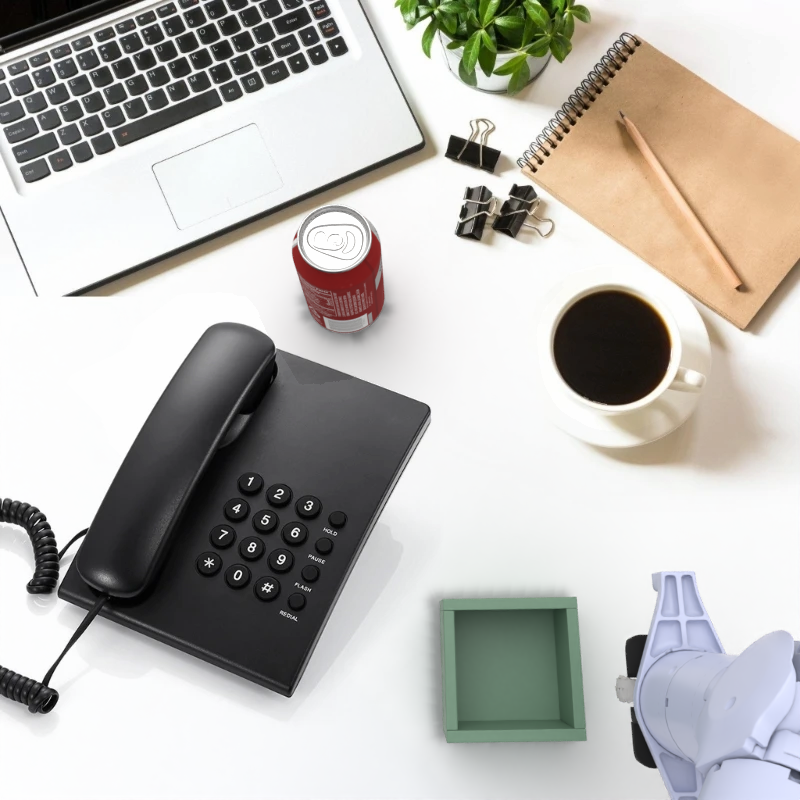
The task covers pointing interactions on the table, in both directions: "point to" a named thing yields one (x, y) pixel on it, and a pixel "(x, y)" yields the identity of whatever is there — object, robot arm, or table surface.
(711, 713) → the robot arm
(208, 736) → the table surface
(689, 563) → the table surface
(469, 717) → the bin
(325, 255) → the soda can
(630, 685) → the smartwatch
